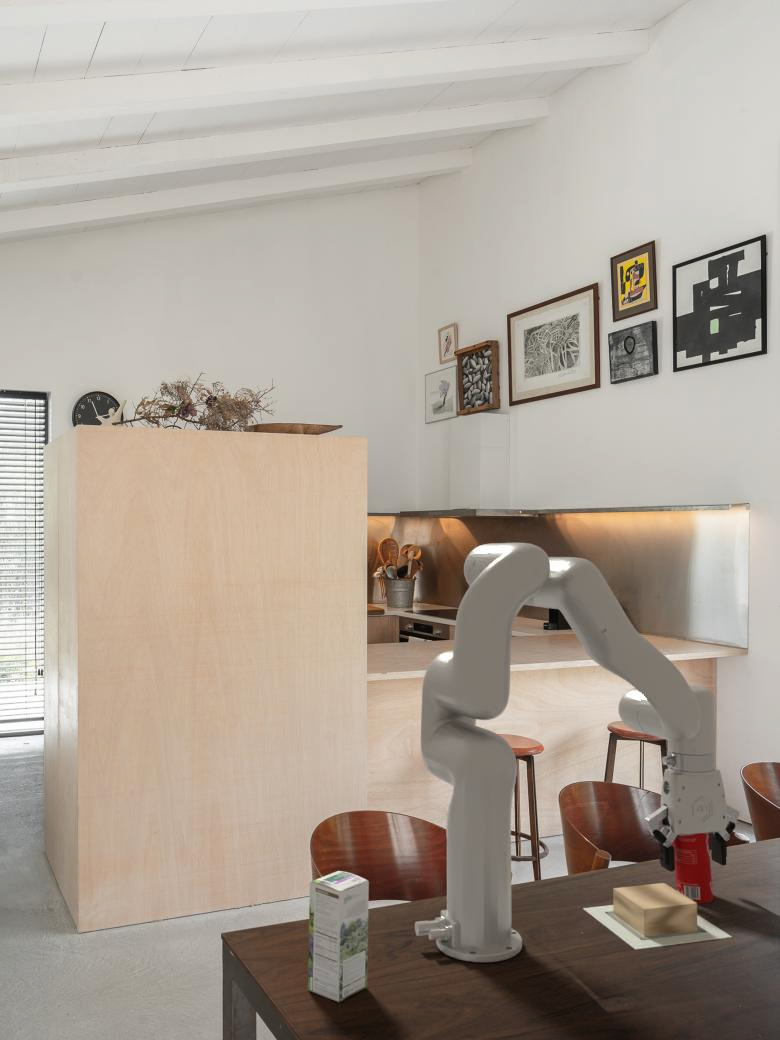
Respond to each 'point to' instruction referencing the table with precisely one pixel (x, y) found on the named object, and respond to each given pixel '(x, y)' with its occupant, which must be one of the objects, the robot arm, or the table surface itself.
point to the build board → (640, 942)
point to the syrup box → (338, 935)
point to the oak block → (655, 909)
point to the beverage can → (693, 867)
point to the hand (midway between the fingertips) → (693, 865)
